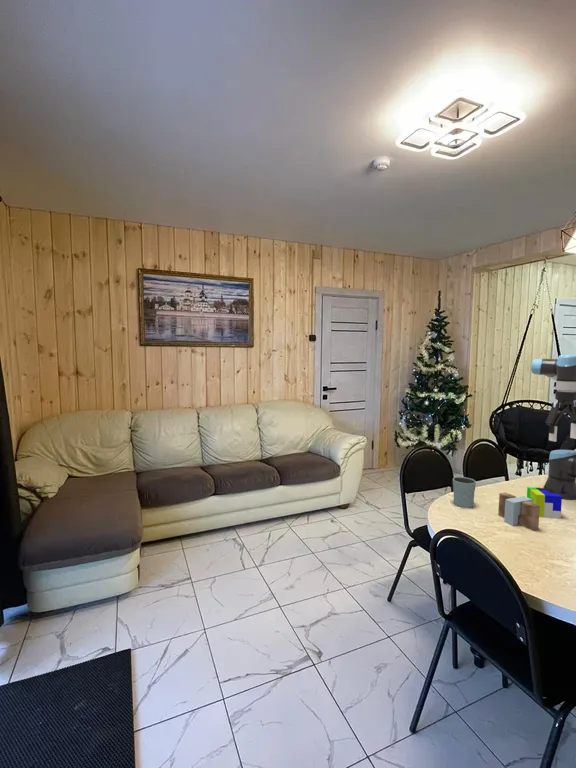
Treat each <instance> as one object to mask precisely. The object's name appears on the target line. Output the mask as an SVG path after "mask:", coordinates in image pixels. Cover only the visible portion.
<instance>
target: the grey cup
mask: <svg viewBox="0 0 576 768" xmlns="http://www.w3.org/2000/svg"><path fill="white" fill-rule="evenodd" d="M476 484H477V481H476V480H475V479H473V478H470V477H466V476H454V477H453V478H452V488H453V492H452V493H453V504H454V505H455V506H456V507H461V508H465V509H471V508H473V507H474V503H475V501H474V500H475V492H476V491H475V490H476Z"/></svg>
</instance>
